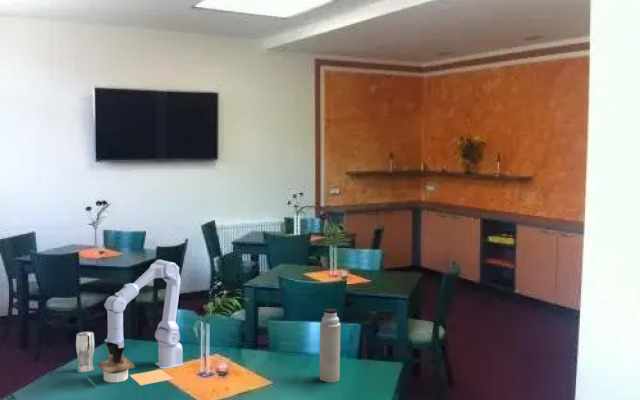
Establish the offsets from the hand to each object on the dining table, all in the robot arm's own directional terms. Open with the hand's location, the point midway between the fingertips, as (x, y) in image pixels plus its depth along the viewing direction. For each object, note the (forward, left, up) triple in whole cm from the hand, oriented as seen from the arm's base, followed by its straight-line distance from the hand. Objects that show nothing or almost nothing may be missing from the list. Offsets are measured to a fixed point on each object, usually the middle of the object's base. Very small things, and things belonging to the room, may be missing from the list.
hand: (115, 361), depth 253 cm
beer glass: (+7, -17, -7) cm, 20 cm away
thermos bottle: (-71, +44, -7) cm, 84 cm away
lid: (0, 0, -2) cm, 2 cm away
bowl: (0, 0, -7) cm, 7 cm away
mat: (-12, +6, -7) cm, 15 cm away
